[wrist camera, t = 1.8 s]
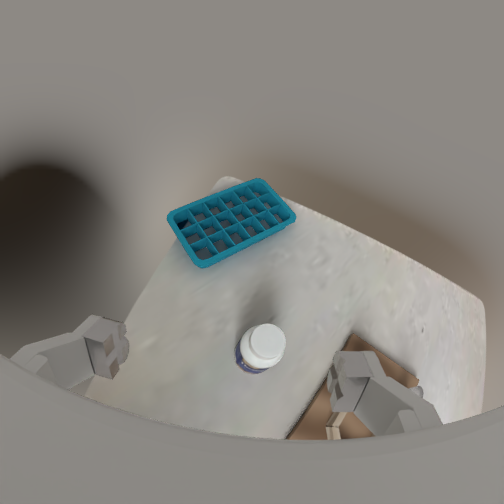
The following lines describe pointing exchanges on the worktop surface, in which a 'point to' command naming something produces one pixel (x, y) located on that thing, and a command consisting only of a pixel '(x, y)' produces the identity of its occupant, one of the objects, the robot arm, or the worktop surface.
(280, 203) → the ice cube tray
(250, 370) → the pill bottle
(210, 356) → the worktop surface
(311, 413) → the board
